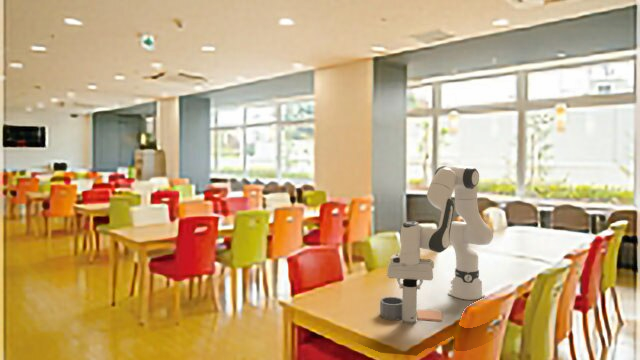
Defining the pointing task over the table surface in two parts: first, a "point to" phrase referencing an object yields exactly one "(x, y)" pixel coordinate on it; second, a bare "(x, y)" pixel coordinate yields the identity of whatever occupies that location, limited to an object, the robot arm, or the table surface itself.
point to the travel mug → (409, 301)
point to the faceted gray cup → (391, 308)
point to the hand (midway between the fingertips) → (409, 288)
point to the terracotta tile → (429, 315)
